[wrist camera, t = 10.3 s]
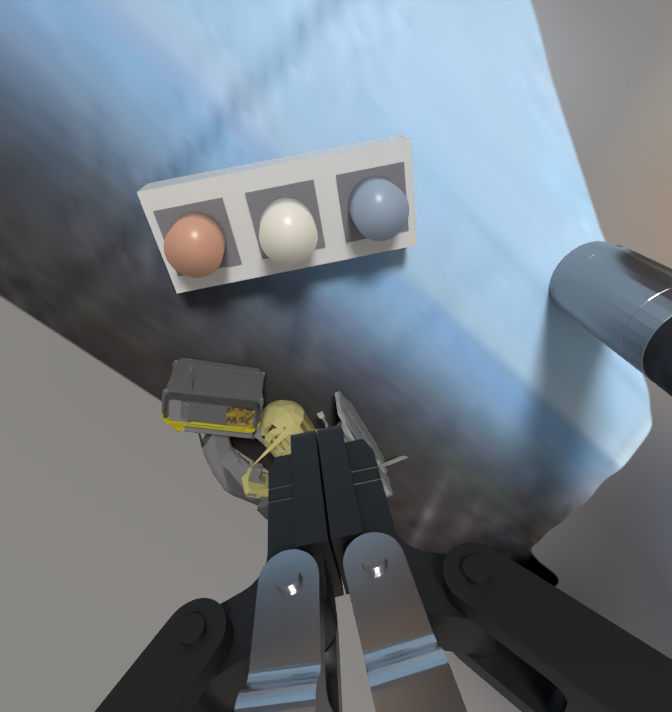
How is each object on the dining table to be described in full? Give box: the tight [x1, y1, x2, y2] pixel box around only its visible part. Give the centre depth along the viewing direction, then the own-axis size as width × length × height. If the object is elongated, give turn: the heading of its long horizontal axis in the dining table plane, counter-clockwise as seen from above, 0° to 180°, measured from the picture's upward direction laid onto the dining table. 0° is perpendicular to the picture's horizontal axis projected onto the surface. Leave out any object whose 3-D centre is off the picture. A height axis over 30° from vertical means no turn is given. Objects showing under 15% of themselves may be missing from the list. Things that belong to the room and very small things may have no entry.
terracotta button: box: [164, 212, 226, 278], centre depth 40 cm, size 5×5×4 cm
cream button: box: [259, 198, 318, 265], centre depth 38 cm, size 5×5×4 cm
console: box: [137, 134, 417, 293], centre depth 43 cm, size 25×10×4 cm, turn 99°
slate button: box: [348, 176, 409, 241], centre depth 40 cm, size 5×5×4 cm
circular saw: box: [162, 358, 408, 519], centre depth 55 cm, size 10×30×25 cm
